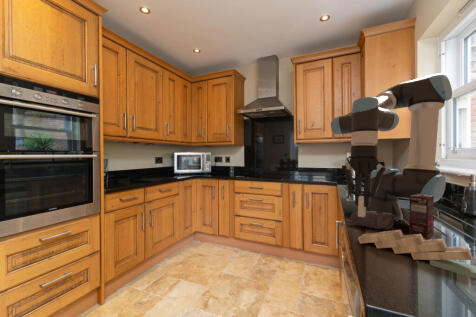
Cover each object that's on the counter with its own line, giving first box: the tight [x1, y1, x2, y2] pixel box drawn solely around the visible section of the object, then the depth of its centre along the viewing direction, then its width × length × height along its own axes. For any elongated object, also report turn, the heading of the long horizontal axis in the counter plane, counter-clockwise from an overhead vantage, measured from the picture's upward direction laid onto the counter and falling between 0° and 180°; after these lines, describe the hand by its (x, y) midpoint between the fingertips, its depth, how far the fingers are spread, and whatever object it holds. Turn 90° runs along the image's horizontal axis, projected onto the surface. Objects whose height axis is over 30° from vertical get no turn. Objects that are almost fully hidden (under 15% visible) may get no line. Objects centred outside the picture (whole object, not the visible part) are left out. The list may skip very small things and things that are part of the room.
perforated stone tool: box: [349, 211, 395, 231], centre depth 80 cm, size 15×5×7 cm, turn 58°
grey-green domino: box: [429, 260, 476, 280], centre depth 50 cm, size 5×2×11 cm
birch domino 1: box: [357, 229, 404, 244], centre depth 63 cm, size 5×2×11 cm
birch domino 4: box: [410, 246, 473, 261], centre depth 53 cm, size 5×2×11 cm
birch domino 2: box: [373, 234, 424, 249], centre depth 59 cm, size 5×2×11 cm
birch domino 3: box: [391, 238, 448, 255], centre depth 56 cm, size 5×2×11 cm
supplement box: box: [408, 194, 434, 240], centre depth 67 cm, size 9×5×16 cm, turn 126°
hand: (361, 216), depth 66 cm, fingers closed
